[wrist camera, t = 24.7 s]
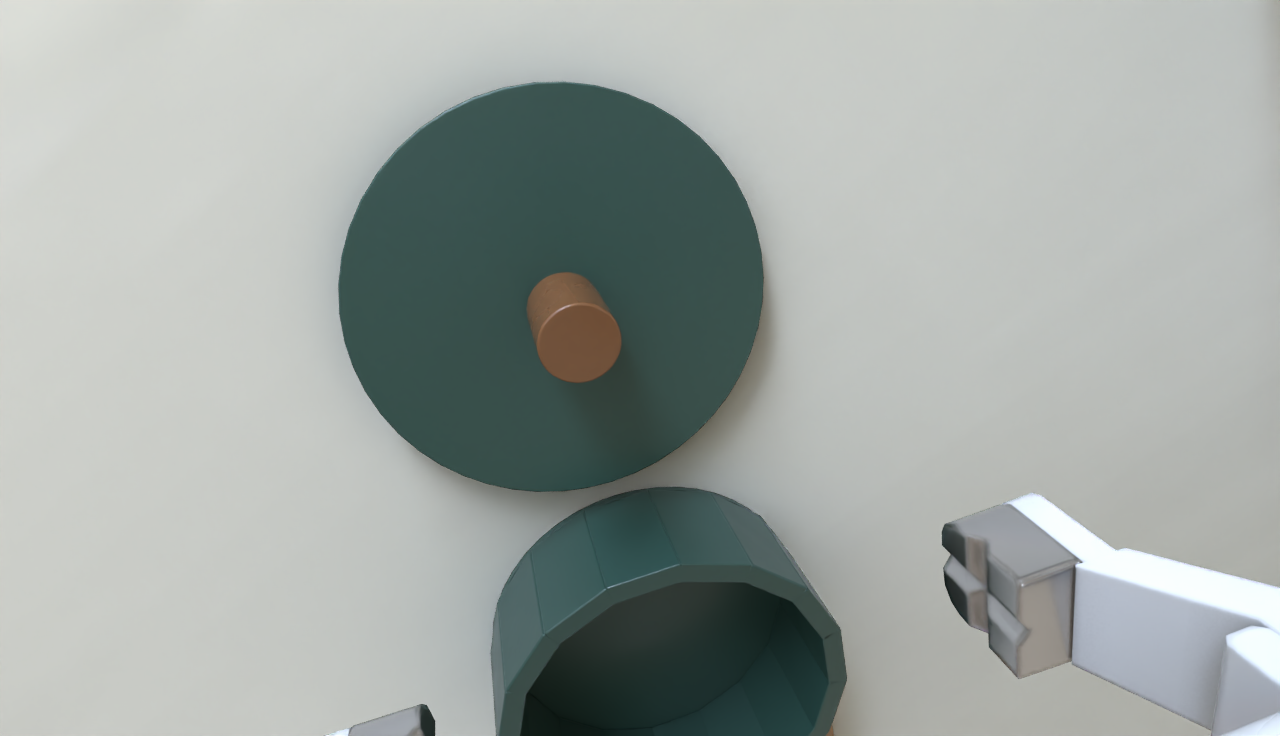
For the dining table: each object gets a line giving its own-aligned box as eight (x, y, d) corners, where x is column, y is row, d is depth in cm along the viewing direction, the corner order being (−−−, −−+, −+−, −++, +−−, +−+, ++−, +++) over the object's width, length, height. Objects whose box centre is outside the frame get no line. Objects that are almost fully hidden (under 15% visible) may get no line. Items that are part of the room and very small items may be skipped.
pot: (769, 446, 32) (826, 516, 27) (807, 678, 37) (859, 769, 33) (449, 547, 30) (449, 640, 25) (540, 773, 36) (554, 884, 31)
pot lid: (717, 34, 25) (772, 30, 21) (776, 414, 31) (828, 472, 27) (270, 143, 23) (228, 164, 19) (425, 523, 29) (421, 603, 25)
